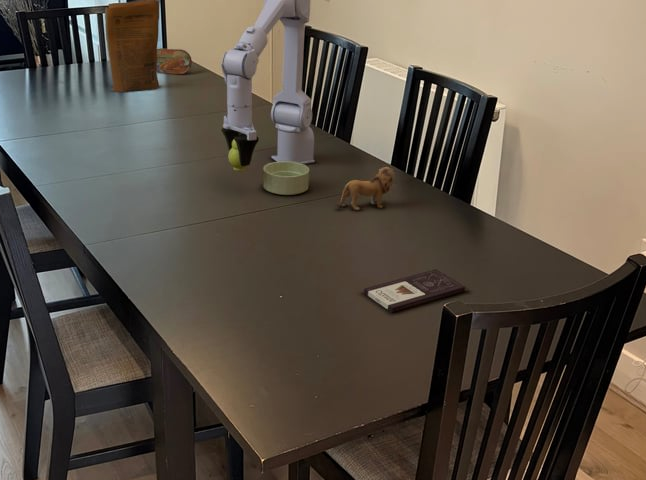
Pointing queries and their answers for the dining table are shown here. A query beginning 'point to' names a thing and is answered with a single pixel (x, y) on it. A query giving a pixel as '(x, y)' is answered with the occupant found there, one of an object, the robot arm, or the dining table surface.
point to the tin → (173, 61)
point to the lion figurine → (369, 188)
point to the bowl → (286, 177)
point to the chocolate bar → (413, 290)
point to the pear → (235, 157)
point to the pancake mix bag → (133, 44)
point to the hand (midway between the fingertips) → (240, 161)
